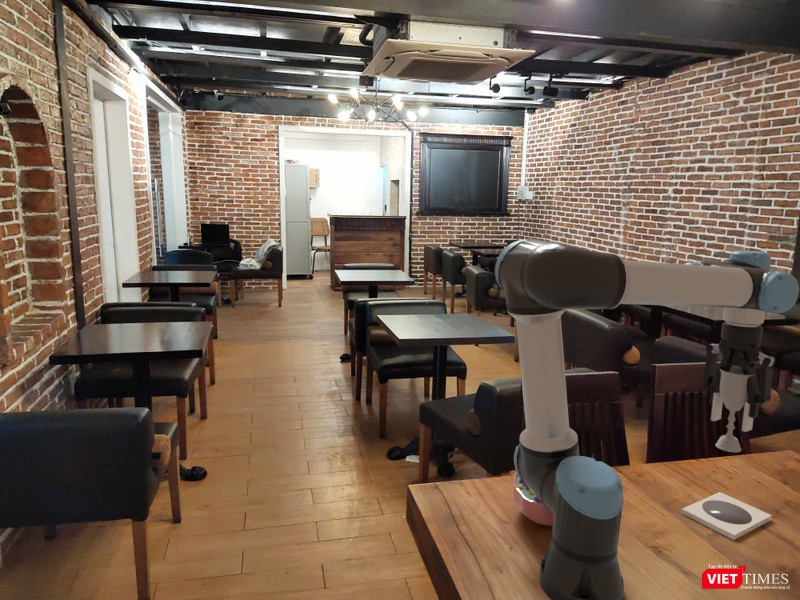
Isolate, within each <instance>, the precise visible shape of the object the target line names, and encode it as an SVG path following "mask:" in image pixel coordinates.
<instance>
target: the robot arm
mask: <svg viewBox="0 0 800 600" xmlns="http://www.w3.org/2000/svg"><path fill="white" fill-rule="evenodd" d="M771 260H772V257H771V255H770V254H769V253H768V252H765V251H757V250H733V251H731V252H730V253H729V258H728V259H727V261H698V260H697V261H693V262H685V263H674V262H673V263H669V262H658V261H657V262H656V261H655V262H653V261H639V260H626V259H625V260H624V259H623V257H621V256H619V255H618V254H615V253H608V252H607V253H606V252H598V251H593V250H589V249H584V248H581V247H577V246H573V245H569V244H566V243H561V242H553V241H545V240H542V239H539V238H527V239H526V238H525V239H519V240H516V241H513V242H512V243H509V244H508V245H507V246H505V247H504V249H503V250H502V251H501V253H500V254H499V255H498V257H497V260H496V262H495V268H494V274H495V275H494V276H495V279H496V283H497V284H498V286H499V287H500V289H501V290H502V291H503V292H504V293H505V304H506V311H507V314H508V315H510V316H511V317H512V318H514V319H515V325H516V326H515V327H516V335H517V345H518V355H519V356H518V357H519V367H520V377H521V378H520V379H521V386H522V387H521V389H522V397H523V398H522V399H523V409H524V420H525V429H524V430H522V432H521V433H520V434H519V444H518V445H516V446H515V449H514V450H515V451H514V454H513V464H514V467H515V472H517V473H518V475H519V477H520V479H521V480H522V481H523V483H524V484H525V485H526V486H527V487H528V488H529V489H530V490H531V491H532V492H533V493H534V494H535V495H536V496H537V497H538V499H539V500H540V501H541V502H542V503H543V504H544V505H545V506H546V507H547V509H548V510H549V511H550V512H551V513H552V515H553V527H552V532H551V541H550V543H549V545H548V547H547V549H546V551H545V553H544V555H543V557H542V560H541V562H540V566H539V576H538V577H539V578H538V579H539V580H538V581H539V584H540V586H541V587H542V590H543V591H544V592H545V594H546V595H547V596H549V598H551V599H552V600H624V594H625V593H624V592H625V582H624V578H623V576H622V573H621V569H620V562H619V559H618V548H619V547H618V546H619V538H620V532H621V531H620V529H621V523H622V514H623V506H624V486H623V481H622V478H621V476H620V475H619V474H618V472H617V471H616V470H615V469H614V468H612V467H611V466H610V465H608V464H606V463H605V462H603V461H600V460H599V461H598V460H596V459H595V458H593V457H588V456H582V455H580V450H579V447H580V446H579V438H578V434H577V432H576V431H575V430H574V429H572V428H571V427H570V421H569V411H568V410H569V409H568V408H569V407H568V399H567V398H568V396H567V394H568V393H567V381H566V372H565V371H566V369H565V355H564V342H563V330H562V315H563V314H564V313H565V312H566V311H567V310H600V309H601V310H612V309H613V310H614V309H616V308H617V307H618V306H620V305H621V304H622V305H643V306H645V305H646V306H647V305H648V306H649V305H650V306H675V307H676V306H677V307H699V308H700V307H701V308H702V307H703V308H723V314H722V320H723V321H724V322H723V323H721V332H720V338H721V339H720V342H719V343H710V344H706V345H705V351H706V352H705V353H706V359H705V364H704V371H703V374H702V375H703V376H702V382H701V385H702V386H703V388H706V389H708V390H709V397H708V398H709V399H708V403H709V405H710V406H711V413H710V414H711V415H710V421H712V422H716V421H719V420H721V419H722V411H723V405H724V402H723V400H722V397H721V393H720V389H719V387H720V379H721V371H720V369H721V370H723V371H726V372H729V371H730V369H731V367H732V366H733V365H734V366H740V367H741V370H742V372H743V373H744V375H754V374H755V375H754V376H750V377H749V378H748V379H747V386H746V388H747V392H748V397H749V398H748V400H747V402H745V404H744V406H743V408H744V409H743V415H742V425H741V432H744V433H746V432H749V431H752V430H753V425H754V419H755V418H757V417H758V416H759V412H760V411H759V410H760V404H765V403H768V402H771V398H772V380H773V379H772V377H773V367H774V364H775V363H776V360H777V359H776V357H775V356H773V355H771V356H769V355H767V354H765V353H763V350H762V349H761V344H762V339H763V331H764V327H763V326H762V324H764V322H765V316H766V315H765V314H766V313H773V314H781V313H786V312H787V311H789V310H790V309H791V308H792V307H793V306H794V305H795V304H796V302H797V301H798V298H799V296H798V295H799V292H800V285H799V282H798V281H797V279H796V278H795V277H794V275H792V274H791V273H788V272H784V271H779V270H778V269H771V264H772V263H771ZM720 352H721V355H722V356H723V357H722V358H721V360H720V363H719V367H720V368H719V367H718V369H717V364H718V358H719V353H720ZM758 359H759V364H760V368H759V380H758V377H757V372H756V370H757V365H756V363H755V362H756V361H757V360H758ZM716 370H717V372H716Z"/></svg>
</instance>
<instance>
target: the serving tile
mask: <svg viewBox="0 0 800 600" xmlns="http://www.w3.org/2000/svg"><path fill="white" fill-rule="evenodd" d="M680 514H681V515H683V516H685V517H688V518H690V519H691V520H693V521H696V522H697V523H699V524H701V525H703V526H705V527H707V528H708V529H711V530H713V531H715V532H717V533H719V534H720V535H723V536H724V537H726V538H728V539H730V540H732V541H735V540H736V539H739V538H740V537H742V536H744V535H746V534H748V533H750V532H751V531H753V530H755V529H757V528H759V527H761V526H762V525H763V526H764V525H765V524H767V523H768V522H770V521H772V516H773V515H772V514H769V513H768V512H765V511H763V510H761V509H759V508H757V507H754V506H753V505H750V504H747V503H746V502H743V501H741V500H739V499H736V498H734V497H732V496H730V495H727V494H726V493H723V492H720V491H719V492H717V493H715V494H712V495H710V496H708V497H704V498H703V499H701V500H699V501H696V502H694V503H692V504H689V505H687V506H685V507H683V508H681V512H680Z"/></svg>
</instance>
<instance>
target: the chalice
mask: <svg viewBox="0 0 800 600" xmlns="http://www.w3.org/2000/svg"><path fill="white" fill-rule="evenodd" d="M719 368H720V366H719V367H718V369H719ZM720 371H721V379H720V387H719V389H720V390H719V391H720V393H721V397H722V400H723V405H724V406H725V409H727V410H728V411H729V415H728V417H727V420H728V424H727V425H725V427H726V428H727V432H726V433H725V434H722V435H721V436H719V439H718V440H717V442H716V443H715V447H716V448H718V449H719V450H722V451H725V452H729V453H740V452H742V448H741V444H740V443H739V442H740V441H739V439H738V438H737V437H735V435H733V434H734V433H733V431H734V429H736V426H734V425H735V424H734V423H735V421H736V417H735V414H736V412H739V411H741V409H742V408H744V407H745V402H747V401H749V397H748V392H747V388H746V386H747V379H748V378H749V377H750V376H754V375H755V374H754V375H744V373H743V372H742V370H741V367H740V366H737V365H735V364H733V366H732V367H731V369H730V371H729V372H726V371H723V370H721V369H720Z"/></svg>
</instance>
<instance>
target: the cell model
mask: <svg viewBox="0 0 800 600" xmlns="http://www.w3.org/2000/svg"><path fill="white" fill-rule="evenodd" d="M512 480H513V481H512V496H513V501H514V502H515V505H516V506H517V507H518V509H519V511H521V512H522V514H523V515H524V516H525V517H526V518H527V519H528V520H530V521H532V522H534V523H535V524H537V525H541V526H542V525H543V526H548V527H552V528H553V515H552V513H551V512H550V511H549V510H548V509H547V507H546V506H545V505H544V504H543V503H542V502H541V501H540V500H539V499H538V497H537V496H536V495H535V494H534V493H533V492H532V491H531V490H530V489H529V488H528V487H527V486H526V485H525V484H524V483H523V481H522V480H521V479H520V477H519V475H518V473H517V471H515V472H514V474H513V479H512Z"/></svg>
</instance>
